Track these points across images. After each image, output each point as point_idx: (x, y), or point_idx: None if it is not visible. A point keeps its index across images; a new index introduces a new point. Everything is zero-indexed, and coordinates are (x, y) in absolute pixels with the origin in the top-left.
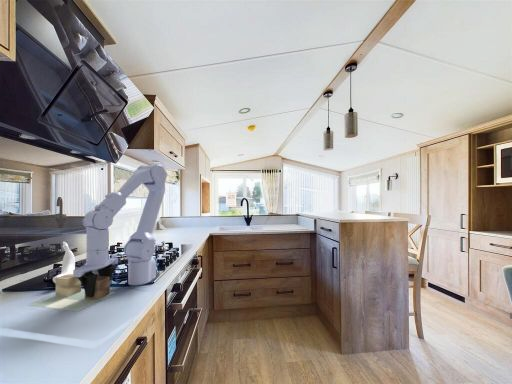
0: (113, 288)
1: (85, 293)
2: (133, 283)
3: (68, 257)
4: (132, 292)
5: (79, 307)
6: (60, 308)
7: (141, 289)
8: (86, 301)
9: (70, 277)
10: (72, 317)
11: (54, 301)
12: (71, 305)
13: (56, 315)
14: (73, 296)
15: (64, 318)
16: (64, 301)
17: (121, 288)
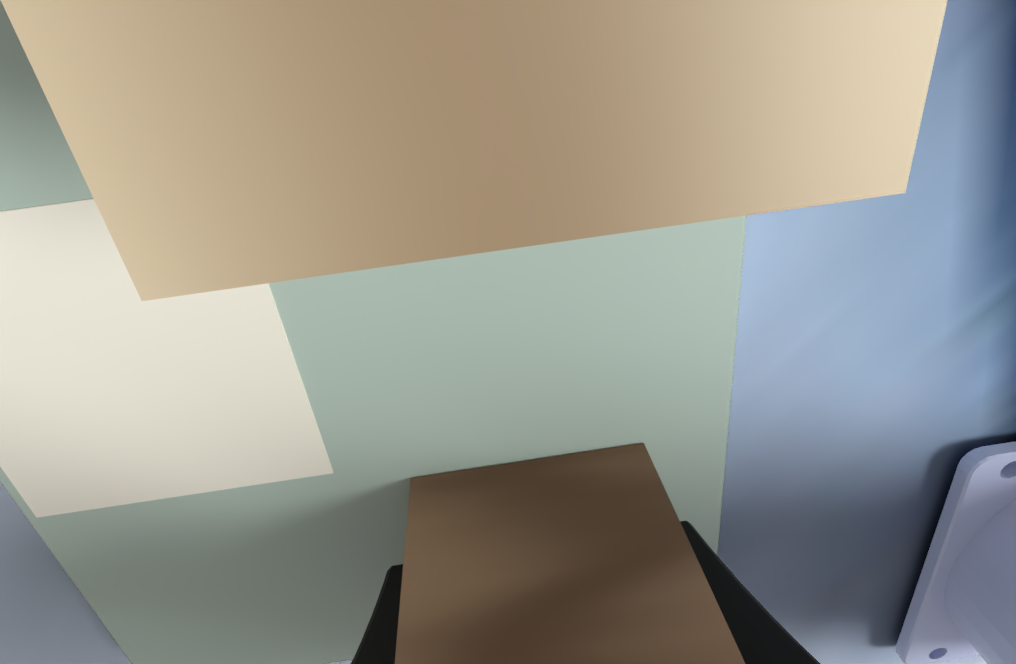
0: (931, 363)
1: (409, 550)
2: (977, 620)
3: None
4: (798, 635)
5: (212, 644)
6: (36, 510)
7: (888, 644)
8: (360, 568)
9: (358, 171)
10: (118, 657)
11: (51, 130)
12: (179, 534)
13: (7, 505)
14: None
15: (52, 624)
16: (177, 318)
17: (927, 457)
